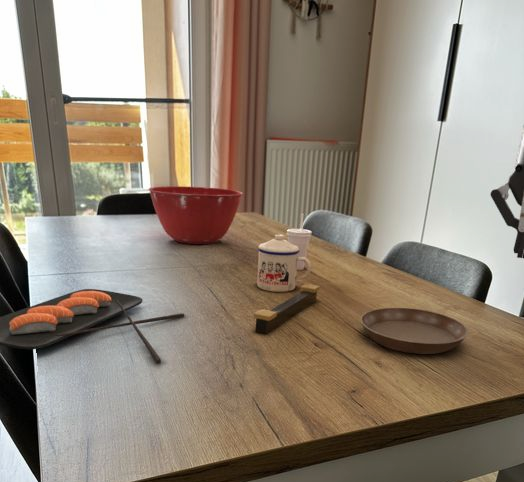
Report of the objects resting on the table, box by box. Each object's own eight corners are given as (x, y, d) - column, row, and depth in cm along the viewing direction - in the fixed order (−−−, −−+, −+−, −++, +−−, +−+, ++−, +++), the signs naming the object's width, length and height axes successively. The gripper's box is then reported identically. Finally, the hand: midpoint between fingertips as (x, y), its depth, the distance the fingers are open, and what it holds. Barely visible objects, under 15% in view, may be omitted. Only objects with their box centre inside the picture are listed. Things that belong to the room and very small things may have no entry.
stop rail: (318, 301, 107) (319, 285, 106) (268, 335, 87) (269, 316, 86) (305, 298, 108) (306, 283, 107) (252, 331, 88) (253, 313, 87)
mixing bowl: (161, 230, 176) (160, 183, 170) (243, 235, 176) (245, 188, 170) (139, 246, 150) (137, 191, 144) (237, 251, 150) (238, 196, 144)
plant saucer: (383, 361, 79) (386, 343, 78) (344, 323, 95) (346, 307, 94) (486, 358, 82) (490, 340, 81) (431, 321, 98) (434, 306, 97)
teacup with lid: (251, 289, 113) (253, 236, 108) (261, 280, 121) (264, 230, 116) (305, 296, 110) (309, 241, 106) (312, 286, 118) (316, 235, 114)
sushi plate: (86, 296, 102) (85, 277, 101) (223, 321, 92) (224, 300, 91) (-42, 344, 77) (-46, 319, 75) (128, 384, 67) (127, 357, 66)
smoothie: (301, 272, 130) (306, 215, 125) (279, 268, 133) (283, 212, 128) (312, 267, 135) (317, 213, 130) (291, 264, 138) (295, 210, 133)
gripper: (605, 135, 71) (570, 259, 78) (502, 131, 76) (477, 247, 83) (612, 133, 65) (573, 268, 71) (499, 128, 70) (472, 255, 76)
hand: (521, 257), depth 77 cm, fingers closed
